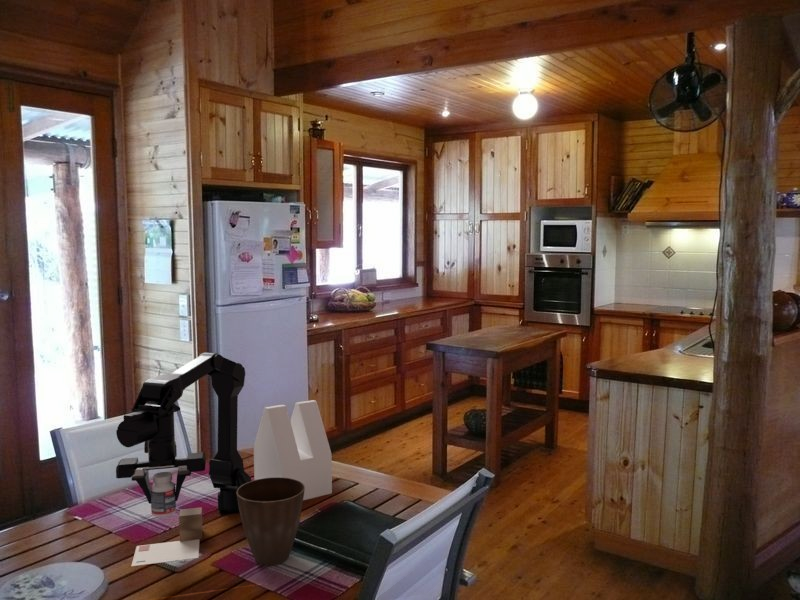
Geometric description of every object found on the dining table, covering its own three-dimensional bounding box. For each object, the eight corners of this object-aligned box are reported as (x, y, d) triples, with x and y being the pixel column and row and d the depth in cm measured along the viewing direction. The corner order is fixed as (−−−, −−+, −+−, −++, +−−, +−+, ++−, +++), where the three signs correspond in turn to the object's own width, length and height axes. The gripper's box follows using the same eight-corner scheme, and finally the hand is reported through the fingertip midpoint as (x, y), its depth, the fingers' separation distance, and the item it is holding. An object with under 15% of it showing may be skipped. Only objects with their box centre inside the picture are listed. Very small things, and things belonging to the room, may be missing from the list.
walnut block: (202, 531, 159) (201, 507, 159) (201, 538, 154) (201, 513, 154) (181, 534, 158) (180, 509, 157) (179, 541, 153) (179, 516, 153)
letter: (199, 539, 154) (199, 538, 154) (198, 558, 145) (198, 557, 145) (136, 547, 151) (136, 545, 151) (131, 567, 141) (131, 565, 141)
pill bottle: (167, 518, 144) (166, 479, 143) (146, 516, 145) (145, 478, 144) (180, 509, 149) (179, 471, 149) (160, 507, 150) (158, 470, 150)
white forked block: (332, 493, 184) (330, 407, 182) (281, 506, 175) (280, 415, 173) (301, 474, 199) (300, 394, 197) (254, 484, 191) (252, 401, 189)
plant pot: (248, 542, 153) (246, 476, 152) (310, 543, 152) (309, 477, 151) (229, 574, 138) (227, 501, 137) (299, 574, 138) (297, 502, 136)
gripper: (205, 422, 156) (207, 485, 157) (122, 428, 151) (125, 492, 152) (203, 435, 145) (205, 502, 146) (114, 441, 140) (117, 511, 142)
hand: (163, 501), depth 147 cm, fingers closed on pill bottle, 5 cm apart
